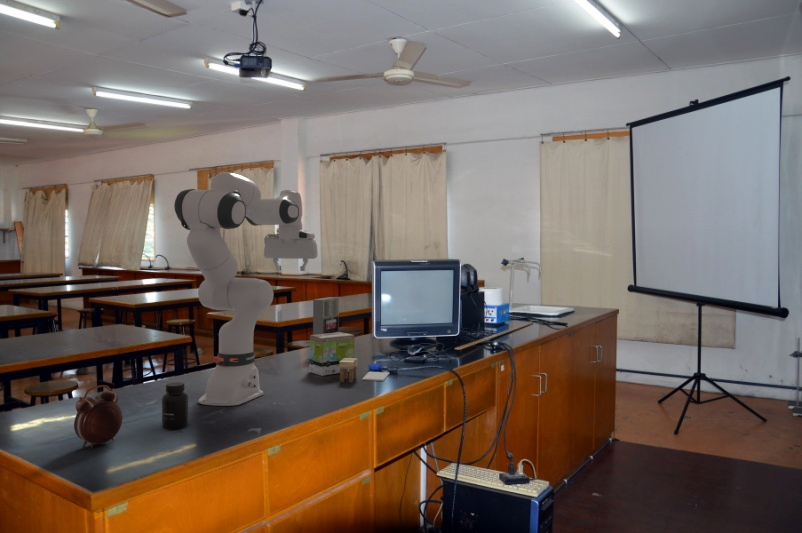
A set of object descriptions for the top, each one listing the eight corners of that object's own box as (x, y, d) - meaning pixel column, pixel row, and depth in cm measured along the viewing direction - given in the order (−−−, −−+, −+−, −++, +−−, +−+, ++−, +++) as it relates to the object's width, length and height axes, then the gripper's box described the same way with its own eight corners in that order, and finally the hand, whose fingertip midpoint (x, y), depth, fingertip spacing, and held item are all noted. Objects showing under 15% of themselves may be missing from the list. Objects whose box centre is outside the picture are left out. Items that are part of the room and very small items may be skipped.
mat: (383, 381, 223) (383, 379, 223) (362, 380, 224) (362, 378, 224) (389, 374, 235) (389, 372, 235) (369, 373, 236) (369, 371, 236)
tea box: (323, 376, 230) (323, 338, 229) (308, 372, 238) (308, 334, 237) (355, 371, 240) (355, 334, 239) (340, 367, 248) (340, 331, 247)
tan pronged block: (352, 382, 220) (352, 362, 220) (339, 382, 221) (339, 361, 221) (357, 378, 227) (357, 358, 227) (344, 377, 228) (344, 358, 228)
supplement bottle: (162, 432, 163) (161, 387, 163) (161, 424, 169) (160, 382, 169) (189, 429, 166) (188, 385, 165) (187, 422, 172) (187, 380, 172)
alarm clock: (112, 437, 159) (111, 380, 158) (124, 440, 156) (123, 382, 156) (72, 449, 149) (70, 389, 149) (84, 453, 147) (82, 391, 146)
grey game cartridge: (324, 356, 270) (324, 300, 269) (312, 355, 272) (312, 299, 271) (340, 351, 282) (340, 297, 281) (329, 350, 285) (329, 297, 284)
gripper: (261, 233, 228) (261, 270, 228) (313, 234, 225) (313, 271, 225) (267, 234, 234) (267, 269, 235) (318, 234, 231) (318, 270, 231)
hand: (290, 270), depth 230 cm, fingers open, 8 cm apart
